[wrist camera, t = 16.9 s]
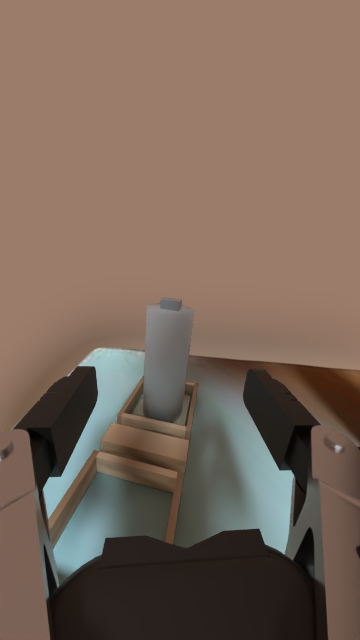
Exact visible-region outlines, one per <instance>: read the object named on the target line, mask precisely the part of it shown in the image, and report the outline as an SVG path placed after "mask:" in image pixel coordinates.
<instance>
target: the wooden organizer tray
mask: <svg viewBox="0 0 360 640" xmlns="http://www.w3.org/2000/svg"><path fill="white" fill-rule="evenodd" d="M143 389H144V376H143V377H142V379H141V380H140V382H139V383H138V385H137V386H136V388H135V389H134V391H133V392H132V394H131V395H130V397H129V398H128V400H127V401H126V403H125V404H124V406H123V407H122V409H121V410H120V412H119V413H118V415H117V421H118V424H116V423H112V424H111V426H110V427H109V429H108V430H107V432H106V433H105V435H104V436H103V438H102V439H101V447H102V452H100V451H96V450H94V451H93V453H92V454H91V456H90V457H89V459H88V460H87V462H86V463H85V465H84V466H83V468H82V469H81V471H80V472H79V474H78V475H77V477H76V478H75V480H74V481H73V483H72V484H71V486H70V488H69V489H68V491H67V492H66V494H65V495H64V497H63V498H62V500H61V501H60V503H59V504H58V506H57V507H56V509H55V510H54V512H53V513H52V515H51V516H50V518H49V519H48V523H49V529H50V536H51V542H52V549H53V548H54V546H55V544H56V542H57V541H58V539H59V537H60V536H61V534H62V532H63V530H64V529H65V527H66V525H67V523H68V522H69V520H70V518H71V517H72V515H73V513H74V511H75V510H76V508H77V506H78V504H79V503H80V501H81V499H82V497H83V496H84V494H85V492H86V491H87V489H88V487H89V485H90V484H91V482H92V480H93V478H94V477H95V475H96V473H97V472H99V473H103V474H106V475H110V476H113V477H117V478H121V479H124V480H128V481H131V482H135V483H138V484H142V485H145V486H149V487H153V488H156V489H160V490H163V491H167V492H170V493H174V494H173V499H172V504H171V510H170V515H169V520H168V525H167V531H166V536H165V541H164V542H166V543H169V544H173V543H174V537H175V530H176V524H177V517H178V511H179V505H180V498H181V492H182V484H183V476H184V473H185V467H186V460H187V454H188V445H189V441H190V435H191V428H192V422H193V416H194V409H195V403H196V397H197V389H198V384H197V383H191V382H186V384H185V392H184V394H186V395H184V401H183V409H182V414H181V416H180V417H179V418H178V419H177V420H176V421H174V422H172V423H168V422H164V421H159V420H155V419H150V418H146V417H145V416H144V414H143V396H142V398H141V400H140V402H139V403H138V405H137V407H136V409H135V411H134V412H133V414H131V413H132V411H133V409H134V407H135V406H136V404H137V402H138V400H139V399H140V397H141V395H142V394H143ZM189 395H191V396H192V399H191V405H190V410H189V415H188V420H187V426H185V423H186V418H187V413H188V408H189V403H190V398H191V396H189Z"/></svg>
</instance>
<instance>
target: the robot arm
mask: <svg viewBox="0 0 360 640" xmlns="http://www.w3.org/2000/svg"><path fill="white" fill-rule="evenodd" d="M97 396H98V390H97V379H96V370H95V367H93V366H78V367H76V368H75V370H74V371H73V372H72V373H71V375H70V376H69V377H63V378H62V379H60V380H58V381H57V382H55V383H54V384H53V385H52V386H51V387H50V388H49V389H48V391H47V392H46V393H45V394H44V395H43V396H42V397H41V398H40V401H38V402H37V403H36V404H35V405H34V406H33V407H32V408H31V410H30V411H29V412H28V413H27V414H26V415H25V416H24V417H23V419H22V420H21V421H20V422H19V423H18V424H17V425H16V426H15V427H14V429H13V430H9V431H5V432H2V433H0V640H360V447H357V446H356V445H355V444H354V443H353V442H352V441H351V440H350V439H349V438H348V437H347V436H345V435H344V434H342V433H341V432H339V431H337V430H335V429H333V428H330V427H327V426H322V425H320V423H319V422H318V421H317V420H316V419H315V418H314V417H313V416H312V415H311V414H310V413H309V412H308V410H307V409H306V408H305V407H304V406H303V405H302V404H301V403H300V402H299V401H297V399H296V397H295V396H294V395H292V394H291V392H290V391H289V390H288V389H287V388H286V387H285V385H283V384H282V383H280V382H279V381H277V380H276V379H273V378H272V377H271V376H270V375H269V374H268V373H267V371H266V370H264V369H249V370H248V372H247V377H246V382H245V387H244V392H243V399H244V404H245V406H246V408H247V410H248V412H249V413H250V415H251V417H252V419H253V421H254V423H255V425H256V427H257V429H258V430H259V432H260V434H261V436H262V438H263V440H264V442H265V444H266V445H267V447H268V449H269V451H270V453H271V455H272V457H273V459H274V461H275V462H276V464H277V466H278V468H279V470H291V471H292V472H293V474H294V478H293V482H292V496H291V511H290V526H289V536H288V541H287V546H286V550H285V555H284V554H283V553H281V552H280V551H278V550H276V549H274V548H272V547H270V546H268V545H265V544H264V541H263V538H262V535H261V532H260V529H248V530H231V531H222V532H220V533H218V534H216V535H214V536H212V537H210V538H208V539H206V540H204V541H202V542H200V543H198V544H195V545H193V546H191V547H189V548H182V547H179V546H176V545H173V544H169V543H166V542H163V541H160V540H157V539H154V538H151V537H148V536H133V537H116V538H106V539H105V543H104V548H103V553H102V555H100V556H97V557H95V558H94V559H92V560H90V561H89V562H87V563H85V564H84V565H83V566H81V567H80V568H79V569H77V570H76V571H75V572H74V573H72V574H71V575H70V576H69V577H68V578H67V579H66V580H65V581H64V582H63V583H62V584H61V585H59V580H58V574H57V569H56V564H55V559H54V554H53V549H52V542H51V536H50V529H49V523H48V517H47V510H46V504H45V497H44V491H43V487H44V486H45V484H46V482H47V480H48V478H49V477H61V475H62V473H63V471H64V469H65V467H66V465H67V463H68V461H69V459H70V457H71V455H72V453H73V450H74V448H75V446H76V444H77V442H78V440H79V438H80V436H81V434H82V432H83V430H84V428H85V426H86V423H87V421H88V419H89V417H90V415H91V413H92V411H93V409H94V407H95V405H96V402H97Z"/></svg>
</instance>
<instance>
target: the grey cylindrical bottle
mask: <svg viewBox="0 0 360 640" xmlns="http://www.w3.org/2000/svg"><path fill="white" fill-rule="evenodd" d="M181 304H182V300H181V299H173V298H165V297H164V298H162V299H161V302H160V303H158V304H152V305H149V306H147V319H146V342H145V343H146V344H145V366H144V389H143V414H144V416H145V417H146V418H150V419H155V420H159V421H164V422H168V423H172V422H174V421H176V420H177V419H178V418H179V417H180V416H181V414H182V409H183V401H184V392H185V384H186V376H187V367H188V359H189V351H190V341H191V334H192V326H193V317H194V310H193V309H192V308H190V307H187V306H183V305H181Z"/></svg>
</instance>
